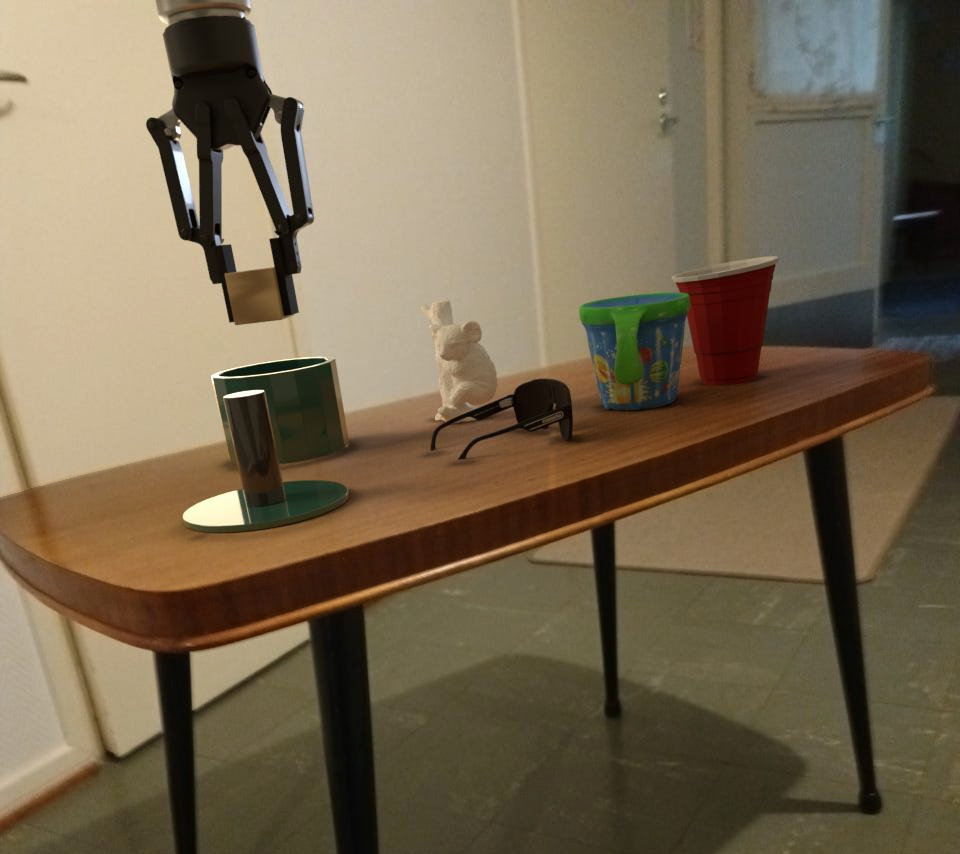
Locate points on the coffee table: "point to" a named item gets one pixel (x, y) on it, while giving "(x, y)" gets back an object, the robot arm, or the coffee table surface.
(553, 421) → the sunglasses
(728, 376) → the plastic cup
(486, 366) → the koala figurine
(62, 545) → the coffee table surface
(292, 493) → the lid
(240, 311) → the block
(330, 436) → the tin
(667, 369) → the snack cup
